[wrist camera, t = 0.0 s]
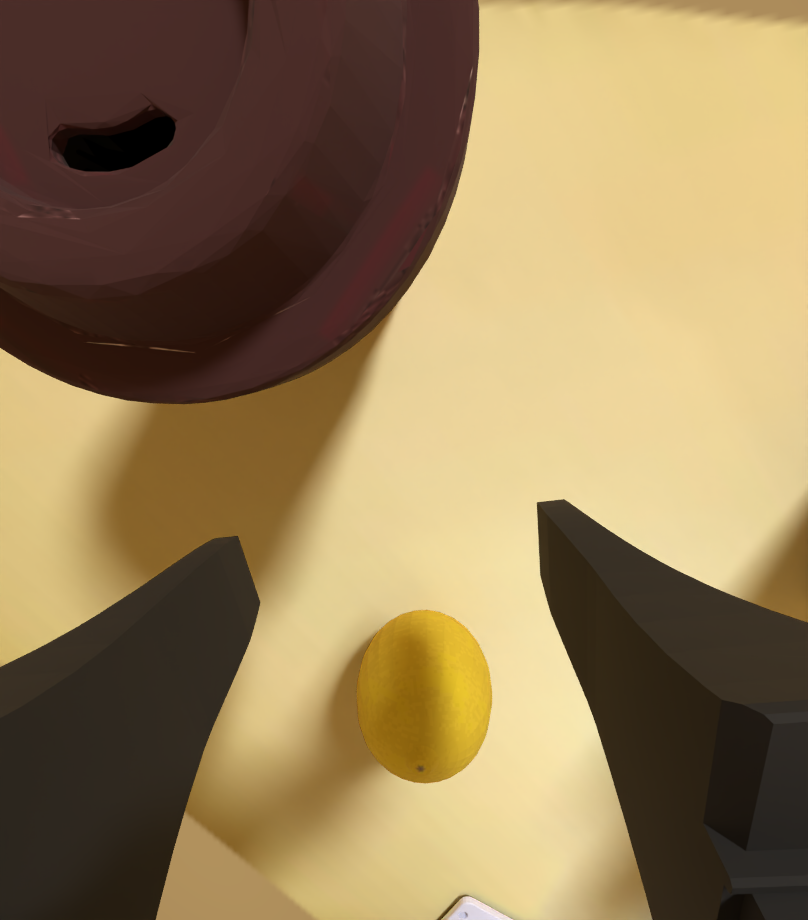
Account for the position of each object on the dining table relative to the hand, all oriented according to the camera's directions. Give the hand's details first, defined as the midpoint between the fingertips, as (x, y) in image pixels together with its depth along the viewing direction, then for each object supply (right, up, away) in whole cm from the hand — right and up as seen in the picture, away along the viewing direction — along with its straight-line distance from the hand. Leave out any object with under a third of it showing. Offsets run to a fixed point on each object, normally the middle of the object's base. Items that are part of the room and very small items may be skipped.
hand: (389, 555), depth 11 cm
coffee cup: (-3, +11, +8) cm, 14 cm away
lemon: (+1, -6, +13) cm, 14 cm away
